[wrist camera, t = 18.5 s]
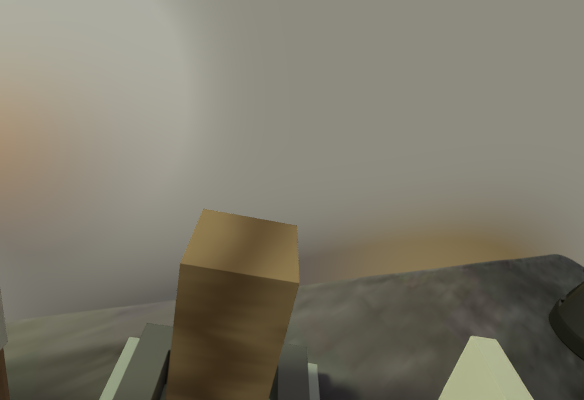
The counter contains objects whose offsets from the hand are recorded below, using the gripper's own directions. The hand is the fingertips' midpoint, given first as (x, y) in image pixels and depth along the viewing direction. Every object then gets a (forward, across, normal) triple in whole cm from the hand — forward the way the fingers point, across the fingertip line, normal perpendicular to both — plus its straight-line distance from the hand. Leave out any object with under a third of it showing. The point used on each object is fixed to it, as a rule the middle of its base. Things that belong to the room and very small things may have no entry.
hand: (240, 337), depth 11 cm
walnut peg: (+11, 0, -22) cm, 24 cm away
